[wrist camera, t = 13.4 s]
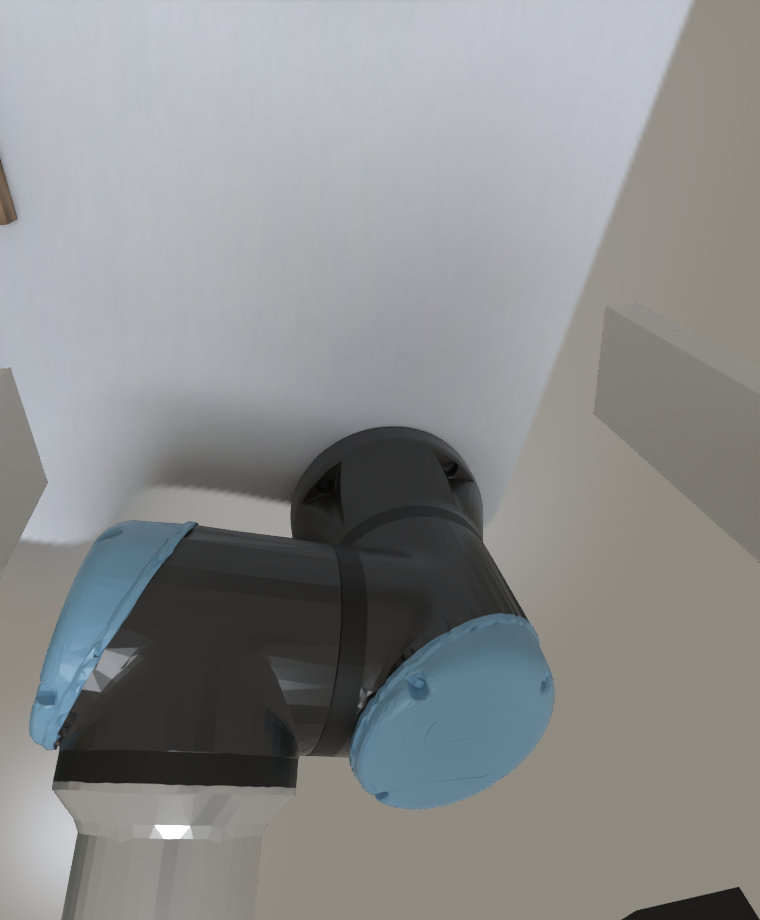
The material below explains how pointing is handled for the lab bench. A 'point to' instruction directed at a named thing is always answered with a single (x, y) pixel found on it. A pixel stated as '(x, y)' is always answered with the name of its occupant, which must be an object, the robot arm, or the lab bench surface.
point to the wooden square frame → (5, 201)
